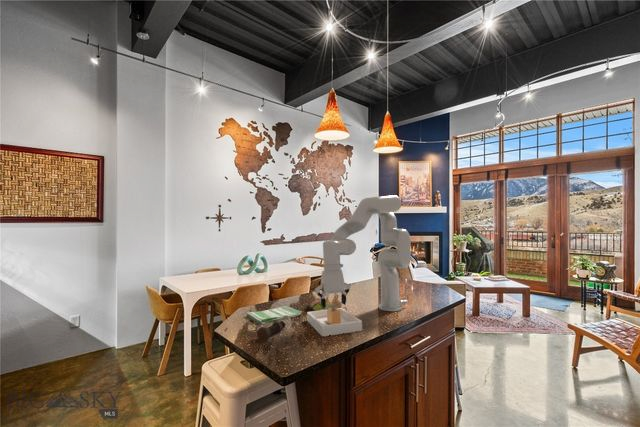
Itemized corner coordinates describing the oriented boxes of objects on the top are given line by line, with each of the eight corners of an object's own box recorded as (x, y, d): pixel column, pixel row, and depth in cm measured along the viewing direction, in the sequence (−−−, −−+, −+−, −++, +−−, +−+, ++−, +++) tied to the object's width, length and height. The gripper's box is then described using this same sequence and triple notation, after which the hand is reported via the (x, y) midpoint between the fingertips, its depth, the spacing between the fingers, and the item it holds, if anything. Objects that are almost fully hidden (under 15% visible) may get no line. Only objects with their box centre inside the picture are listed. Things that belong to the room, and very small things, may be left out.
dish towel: (303, 315, 151) (303, 310, 151) (261, 326, 136) (261, 320, 137) (284, 308, 165) (284, 303, 165) (245, 317, 150) (245, 311, 151)
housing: (341, 315, 147) (341, 307, 148) (362, 330, 127) (362, 321, 127) (307, 320, 142) (307, 312, 142) (322, 336, 121) (322, 326, 121)
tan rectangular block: (335, 321, 136) (335, 304, 136) (340, 325, 130) (340, 307, 131) (327, 322, 135) (327, 305, 135) (332, 326, 129) (331, 308, 129)
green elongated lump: (321, 316, 143) (301, 296, 165) (323, 330, 144) (303, 308, 167) (342, 308, 148) (320, 290, 170) (344, 321, 149) (322, 301, 171)
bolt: (284, 333, 131) (263, 344, 118) (276, 326, 133) (254, 336, 120) (290, 322, 130) (269, 332, 117) (281, 315, 132) (260, 324, 119)
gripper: (346, 264, 142) (347, 300, 141) (311, 268, 136) (313, 305, 136) (352, 266, 134) (354, 304, 134) (316, 270, 129) (318, 310, 129)
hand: (333, 305), depth 135 cm, fingers open, 9 cm apart
